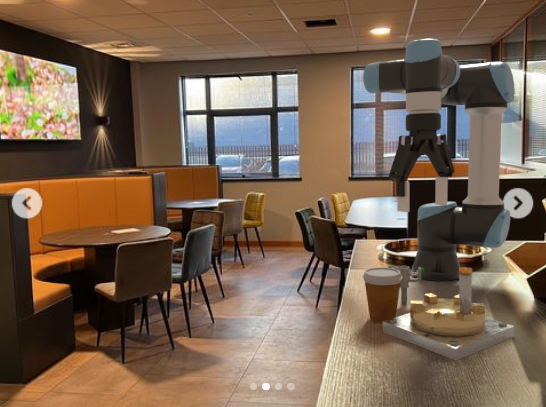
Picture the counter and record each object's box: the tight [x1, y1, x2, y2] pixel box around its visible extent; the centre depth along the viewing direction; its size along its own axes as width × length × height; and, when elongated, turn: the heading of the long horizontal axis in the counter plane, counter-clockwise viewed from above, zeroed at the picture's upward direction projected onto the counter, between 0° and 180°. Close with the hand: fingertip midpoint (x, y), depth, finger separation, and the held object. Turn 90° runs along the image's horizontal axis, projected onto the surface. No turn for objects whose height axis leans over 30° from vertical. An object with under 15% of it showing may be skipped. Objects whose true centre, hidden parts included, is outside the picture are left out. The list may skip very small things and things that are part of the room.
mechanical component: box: [384, 265, 424, 305], centre depth 140 cm, size 3×10×10 cm, turn 78°
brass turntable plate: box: [409, 266, 486, 336], centre depth 117 cm, size 16×16×14 cm
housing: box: [382, 312, 515, 362], centre depth 118 cm, size 20×20×3 cm
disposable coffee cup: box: [362, 266, 402, 324], centre depth 128 cm, size 10×10×12 cm
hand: (423, 208), depth 118 cm, fingers open, 13 cm apart
